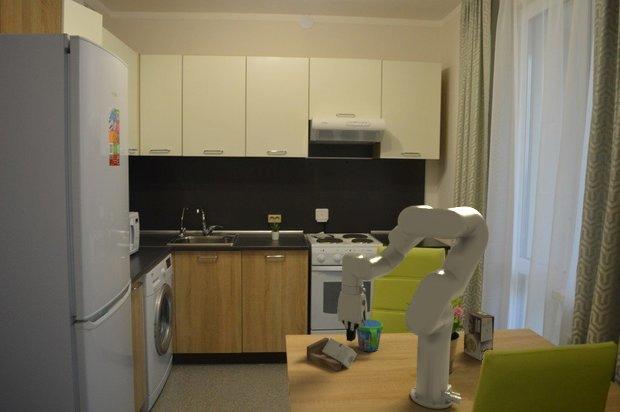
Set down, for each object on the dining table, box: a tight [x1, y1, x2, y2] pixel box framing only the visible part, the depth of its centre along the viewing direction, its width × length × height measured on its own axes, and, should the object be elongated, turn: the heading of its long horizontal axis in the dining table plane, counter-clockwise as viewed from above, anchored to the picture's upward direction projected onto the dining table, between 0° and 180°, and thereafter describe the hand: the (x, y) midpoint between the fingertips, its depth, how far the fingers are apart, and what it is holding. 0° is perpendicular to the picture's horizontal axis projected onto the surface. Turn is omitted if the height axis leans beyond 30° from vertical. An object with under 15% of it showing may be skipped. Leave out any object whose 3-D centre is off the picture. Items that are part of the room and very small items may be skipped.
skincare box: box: [322, 337, 358, 369], centre depth 155 cm, size 6×4×12 cm
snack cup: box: [356, 318, 384, 353], centre depth 168 cm, size 16×10×10 cm
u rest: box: [306, 337, 357, 372], centre depth 157 cm, size 14×12×5 cm
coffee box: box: [463, 309, 495, 361], centre depth 163 cm, size 9×6×16 cm
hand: (350, 339), depth 151 cm, fingers closed
